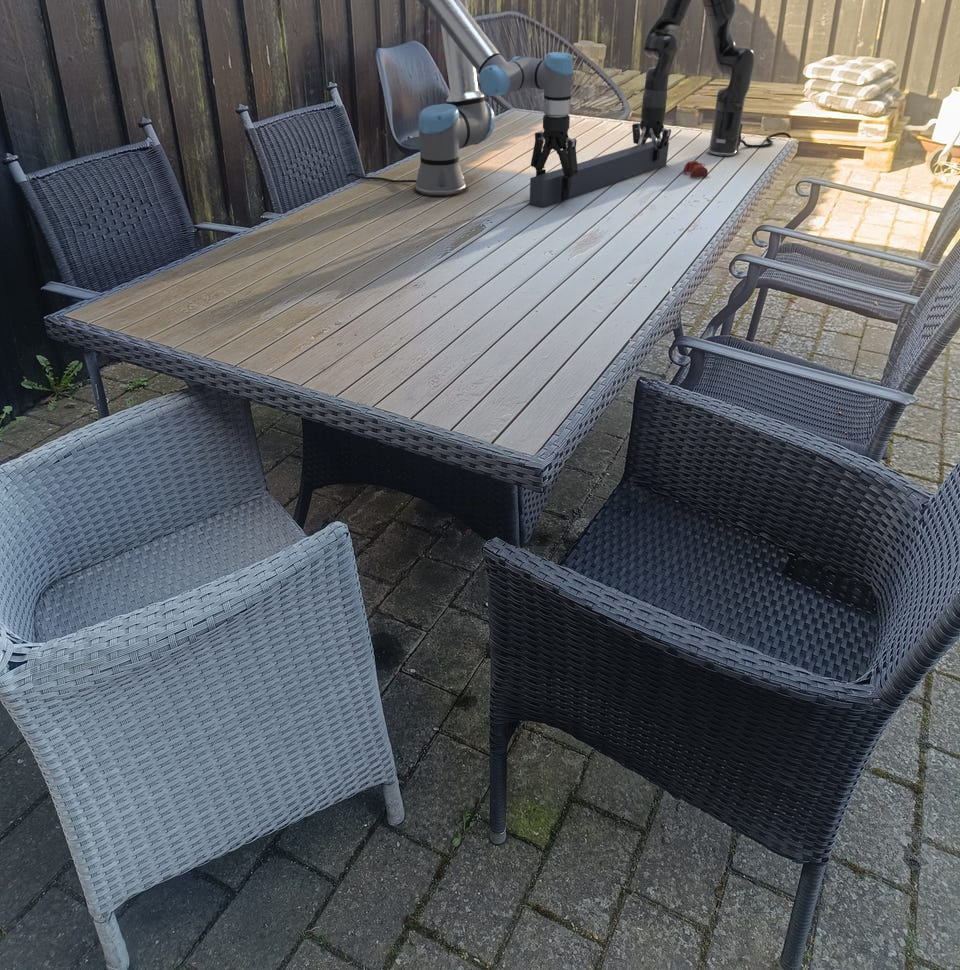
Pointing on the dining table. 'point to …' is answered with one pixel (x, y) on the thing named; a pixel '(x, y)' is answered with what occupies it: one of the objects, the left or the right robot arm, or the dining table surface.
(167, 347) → the dining table surface
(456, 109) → the left robot arm
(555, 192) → the beam
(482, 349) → the dining table surface
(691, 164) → the red lumpy piece
